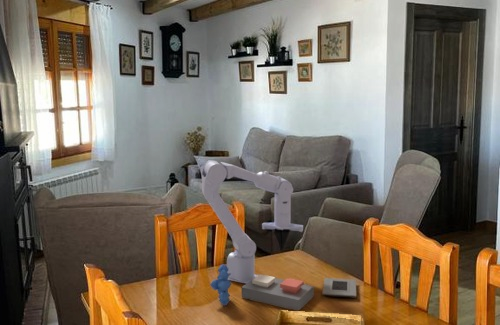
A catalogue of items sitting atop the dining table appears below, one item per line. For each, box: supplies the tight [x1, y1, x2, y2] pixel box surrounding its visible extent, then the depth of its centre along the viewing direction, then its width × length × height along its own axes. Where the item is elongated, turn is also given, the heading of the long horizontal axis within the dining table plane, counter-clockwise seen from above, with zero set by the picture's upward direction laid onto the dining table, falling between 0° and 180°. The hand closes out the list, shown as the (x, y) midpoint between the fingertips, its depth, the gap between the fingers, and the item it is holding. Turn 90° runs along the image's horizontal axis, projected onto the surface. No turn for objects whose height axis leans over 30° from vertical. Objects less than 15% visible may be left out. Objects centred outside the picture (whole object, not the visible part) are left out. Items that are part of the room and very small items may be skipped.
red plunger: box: [280, 277, 305, 294], centre depth 158 cm, size 6×6×5 cm
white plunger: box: [252, 273, 276, 288], centre depth 163 cm, size 6×6×5 cm
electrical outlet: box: [322, 277, 357, 299], centre depth 165 cm, size 13×10×2 cm
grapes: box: [210, 263, 232, 306], centre depth 156 cm, size 12×7×12 cm, turn 5°
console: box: [241, 274, 315, 311], centre depth 160 cm, size 20×12×4 cm, turn 61°
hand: (282, 249), depth 178 cm, fingers closed
